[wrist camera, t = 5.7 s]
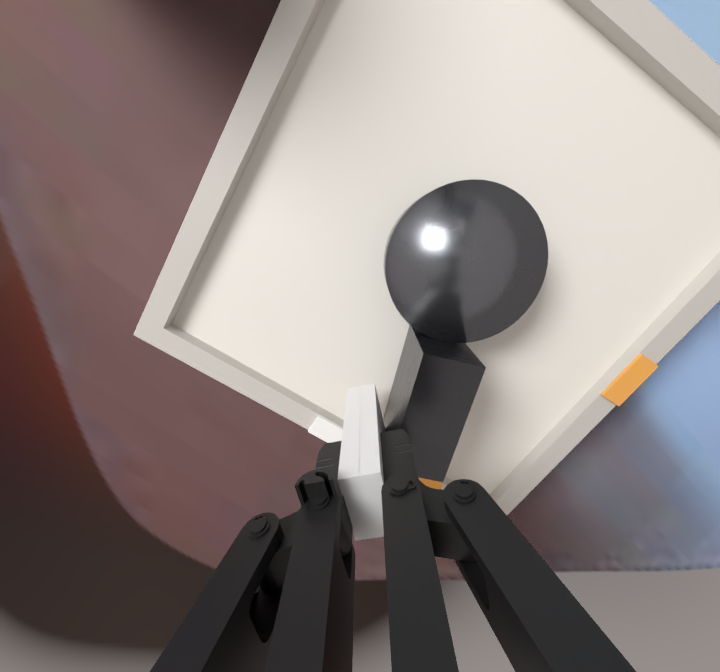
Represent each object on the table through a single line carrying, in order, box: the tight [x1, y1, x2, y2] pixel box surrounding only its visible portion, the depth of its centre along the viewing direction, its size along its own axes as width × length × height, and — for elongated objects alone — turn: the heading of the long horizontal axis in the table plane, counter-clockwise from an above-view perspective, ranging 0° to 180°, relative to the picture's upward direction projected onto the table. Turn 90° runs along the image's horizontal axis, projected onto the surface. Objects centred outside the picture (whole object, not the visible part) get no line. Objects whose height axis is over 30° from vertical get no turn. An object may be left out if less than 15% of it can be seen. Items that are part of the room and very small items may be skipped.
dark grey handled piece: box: [383, 179, 548, 489], centre depth 16 cm, size 14×7×4 cm, turn 167°
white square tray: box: [134, 0, 720, 515], centre depth 18 cm, size 24×24×3 cm
